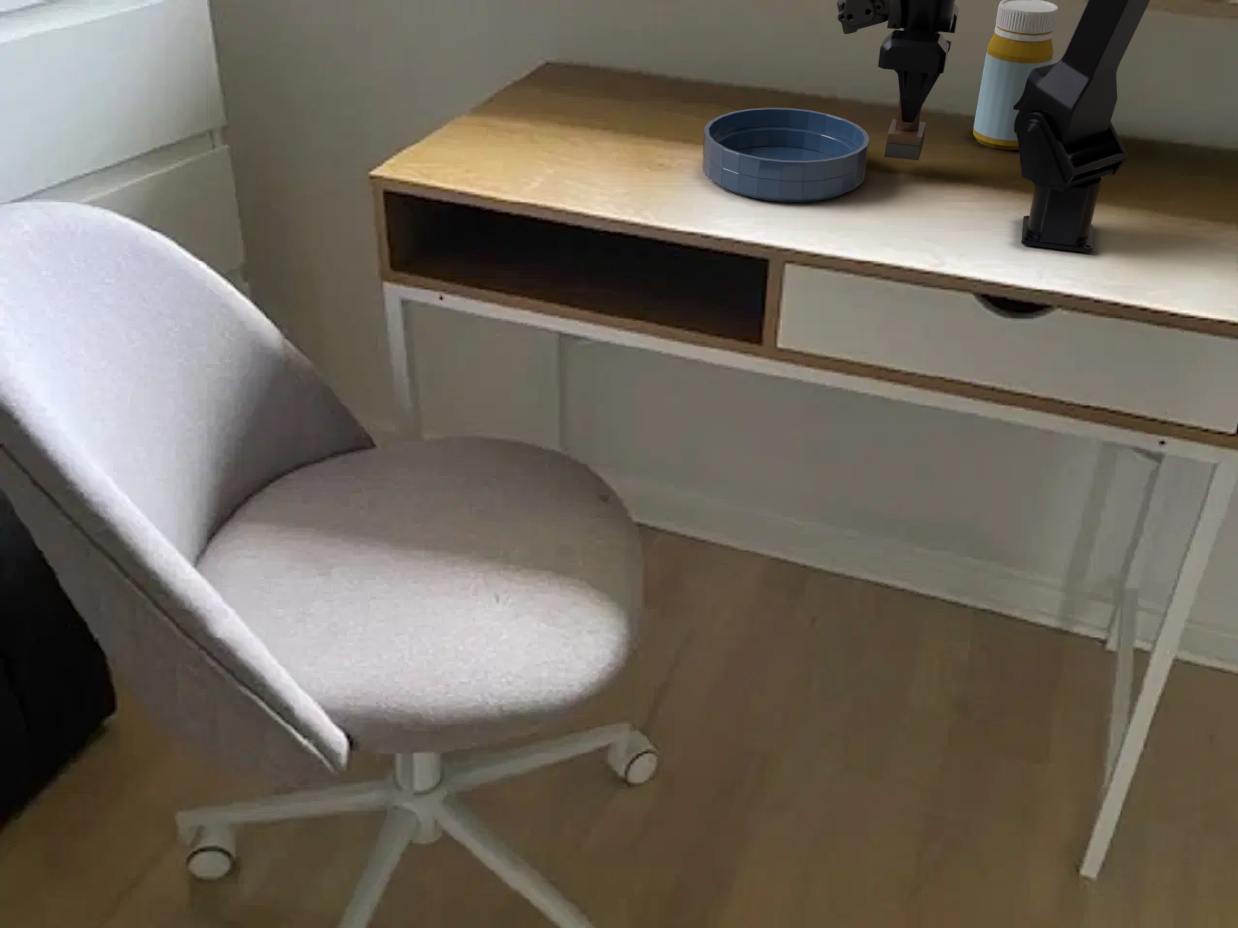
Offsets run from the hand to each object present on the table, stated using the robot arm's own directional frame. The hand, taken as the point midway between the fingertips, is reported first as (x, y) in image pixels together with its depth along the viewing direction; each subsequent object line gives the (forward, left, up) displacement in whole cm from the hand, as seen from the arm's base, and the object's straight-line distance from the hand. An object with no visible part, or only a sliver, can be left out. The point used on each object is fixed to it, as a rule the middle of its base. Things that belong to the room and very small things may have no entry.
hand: (908, 118), depth 134 cm
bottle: (+15, -10, -6) cm, 19 cm away
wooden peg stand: (0, 0, -4) cm, 4 cm away
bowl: (-4, +12, -6) cm, 14 cm away
